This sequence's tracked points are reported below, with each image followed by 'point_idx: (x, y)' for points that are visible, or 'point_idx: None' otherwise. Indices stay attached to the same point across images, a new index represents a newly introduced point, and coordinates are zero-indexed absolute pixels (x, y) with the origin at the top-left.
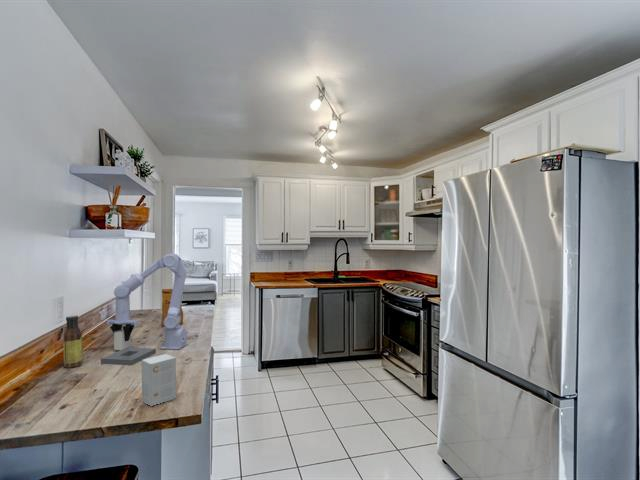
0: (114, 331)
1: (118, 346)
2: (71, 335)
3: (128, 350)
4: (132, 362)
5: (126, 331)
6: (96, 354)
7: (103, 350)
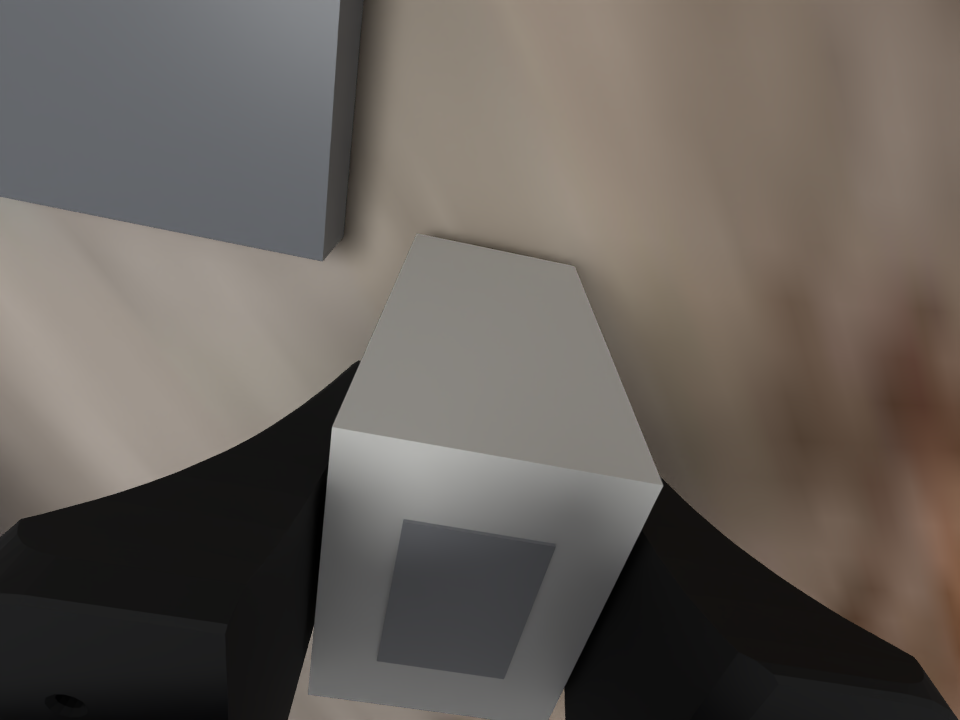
0: (683, 542)
1: (493, 271)
2: None
3: (139, 9)
4: None
5: (202, 474)
6: (833, 112)
7: (774, 339)
